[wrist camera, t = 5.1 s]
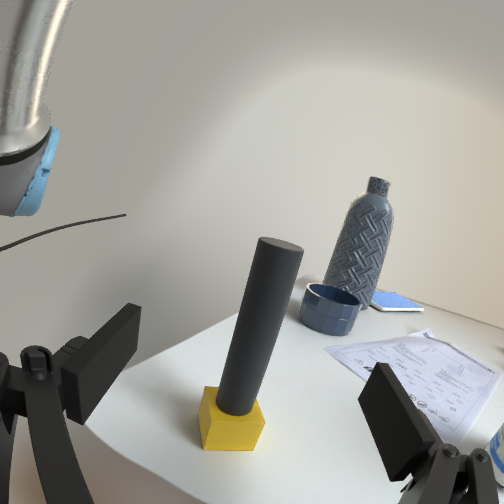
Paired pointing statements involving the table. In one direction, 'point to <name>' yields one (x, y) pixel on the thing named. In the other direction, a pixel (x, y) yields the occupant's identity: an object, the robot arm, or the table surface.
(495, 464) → the supplement tub
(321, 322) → the bowl
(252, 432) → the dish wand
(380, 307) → the tablet
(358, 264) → the vase
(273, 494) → the table surface
